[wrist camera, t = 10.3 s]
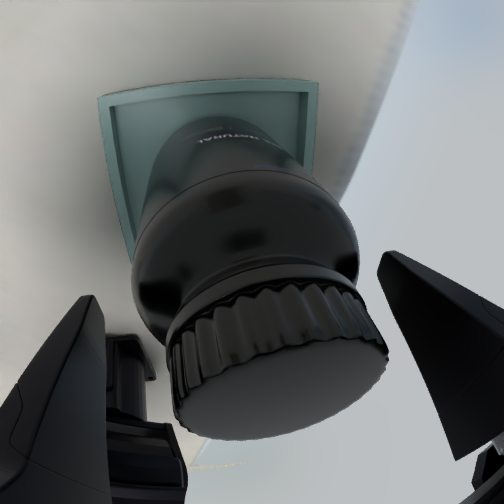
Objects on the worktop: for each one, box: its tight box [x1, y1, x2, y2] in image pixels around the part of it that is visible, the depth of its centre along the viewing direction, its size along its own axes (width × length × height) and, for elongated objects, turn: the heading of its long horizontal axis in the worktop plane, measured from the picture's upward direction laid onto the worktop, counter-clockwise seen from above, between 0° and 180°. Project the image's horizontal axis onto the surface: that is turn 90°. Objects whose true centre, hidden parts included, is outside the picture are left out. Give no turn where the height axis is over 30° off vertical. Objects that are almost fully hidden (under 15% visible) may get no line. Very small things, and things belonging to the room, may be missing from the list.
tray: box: [97, 79, 319, 264], centre depth 15 cm, size 10×10×2 cm
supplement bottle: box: [131, 116, 389, 441], centre depth 10 cm, size 7×7×12 cm
